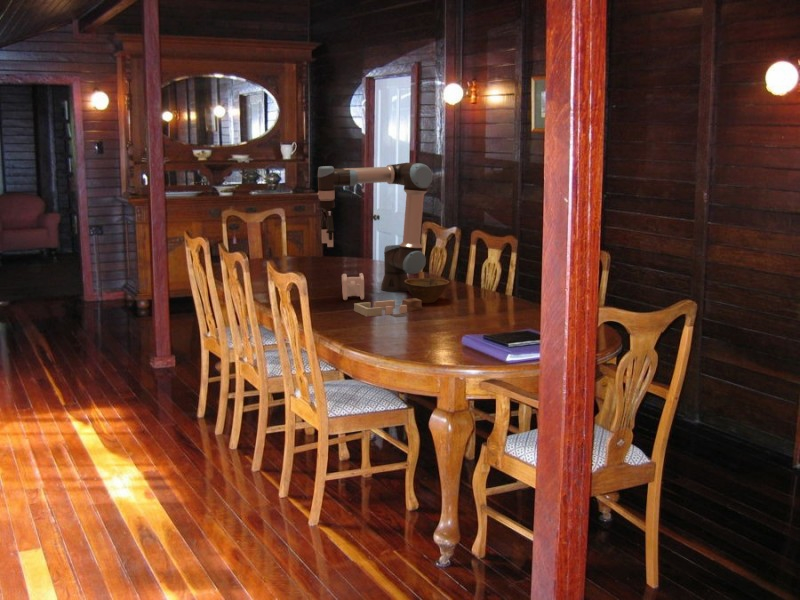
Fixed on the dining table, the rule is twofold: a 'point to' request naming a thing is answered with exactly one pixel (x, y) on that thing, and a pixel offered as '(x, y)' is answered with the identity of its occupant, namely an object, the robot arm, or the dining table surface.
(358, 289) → the cable organizer
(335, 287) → the dining table surface
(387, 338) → the dining table surface
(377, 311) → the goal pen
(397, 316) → the mat
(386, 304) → the channel
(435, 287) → the bowl
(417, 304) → the block
